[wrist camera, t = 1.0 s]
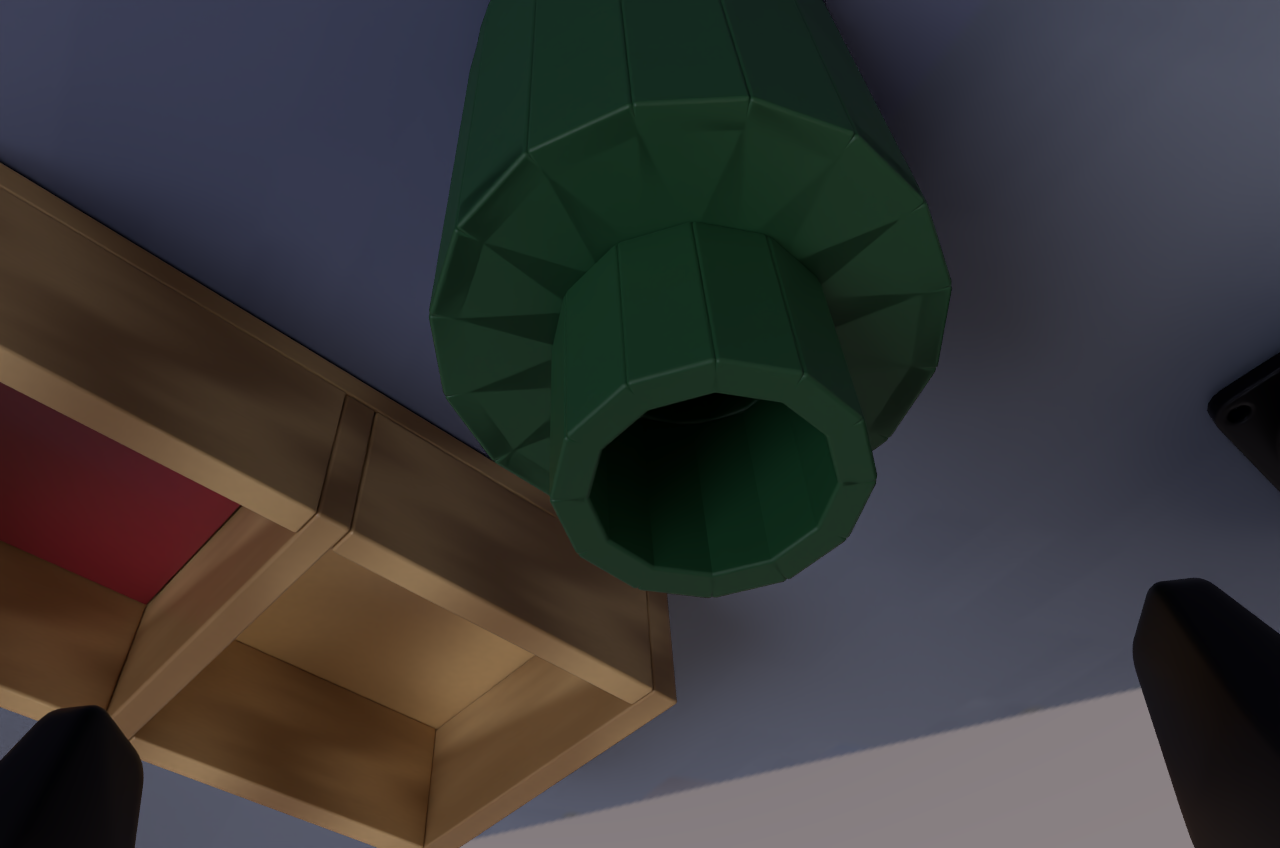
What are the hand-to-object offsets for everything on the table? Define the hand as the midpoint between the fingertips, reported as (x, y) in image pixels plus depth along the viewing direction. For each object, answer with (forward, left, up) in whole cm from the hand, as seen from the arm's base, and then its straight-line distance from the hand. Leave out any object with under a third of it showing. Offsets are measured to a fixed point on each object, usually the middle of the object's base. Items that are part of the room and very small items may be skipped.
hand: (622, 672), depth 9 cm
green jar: (-1, -1, -12) cm, 12 cm away
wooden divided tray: (-1, +12, -12) cm, 17 cm away
